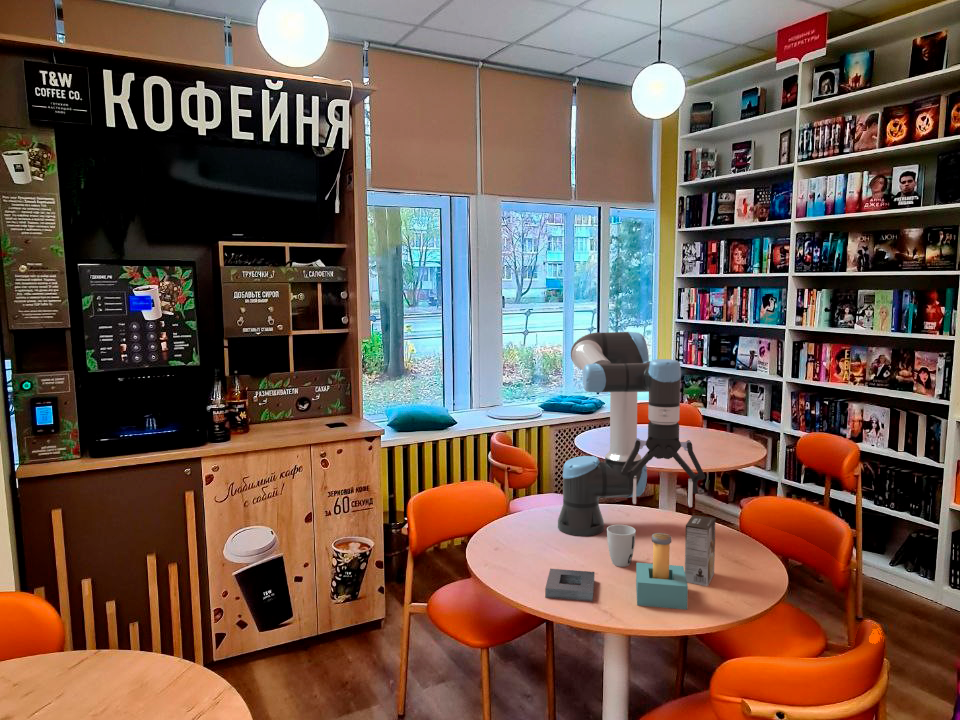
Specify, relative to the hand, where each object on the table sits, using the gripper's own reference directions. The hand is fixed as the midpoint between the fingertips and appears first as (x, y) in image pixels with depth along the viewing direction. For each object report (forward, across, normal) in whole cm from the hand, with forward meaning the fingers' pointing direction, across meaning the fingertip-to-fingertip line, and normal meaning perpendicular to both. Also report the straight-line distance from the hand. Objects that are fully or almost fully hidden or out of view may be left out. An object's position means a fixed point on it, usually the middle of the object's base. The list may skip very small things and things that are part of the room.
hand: (661, 503), depth 166 cm
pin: (+24, 0, -1) cm, 24 cm away
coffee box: (+25, +11, +12) cm, 30 cm away
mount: (+24, -23, 0) cm, 34 cm away
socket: (+24, 0, 0) cm, 24 cm away
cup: (+25, -10, +18) cm, 33 cm away
